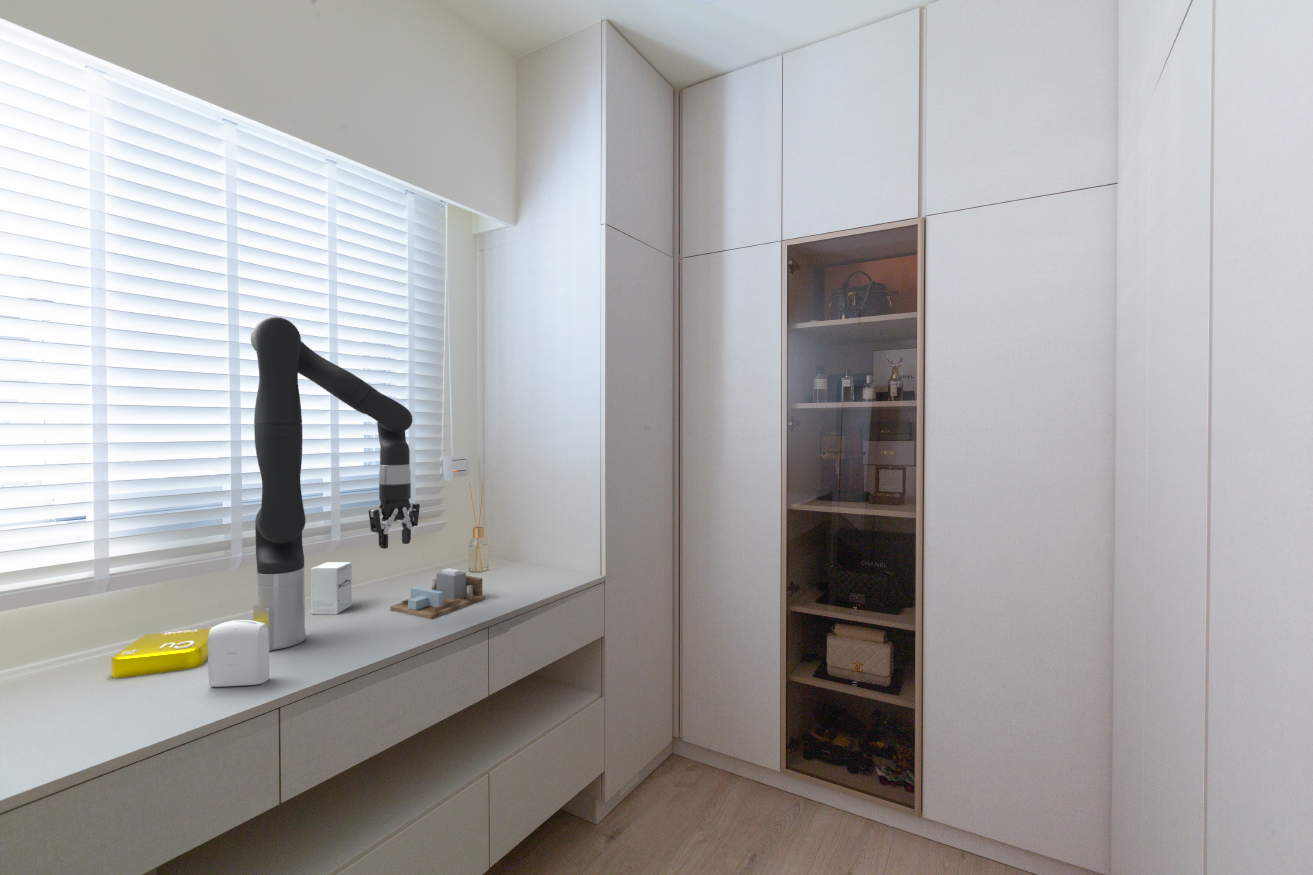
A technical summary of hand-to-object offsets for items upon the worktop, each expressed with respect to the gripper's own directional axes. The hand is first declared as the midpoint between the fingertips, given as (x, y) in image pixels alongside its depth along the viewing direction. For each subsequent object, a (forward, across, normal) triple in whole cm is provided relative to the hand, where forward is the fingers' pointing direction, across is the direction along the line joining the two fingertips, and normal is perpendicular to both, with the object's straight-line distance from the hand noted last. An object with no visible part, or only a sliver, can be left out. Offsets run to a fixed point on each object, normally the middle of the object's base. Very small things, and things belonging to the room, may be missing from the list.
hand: (395, 545), depth 148 cm
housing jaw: (+18, +8, 0) cm, 20 cm away
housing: (+19, +15, 0) cm, 25 cm away
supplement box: (+20, -3, +22) cm, 30 cm away
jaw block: (+18, +19, 0) cm, 26 cm away
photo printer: (+20, -39, -4) cm, 44 cm away
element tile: (+20, -40, +22) cm, 50 cm away
